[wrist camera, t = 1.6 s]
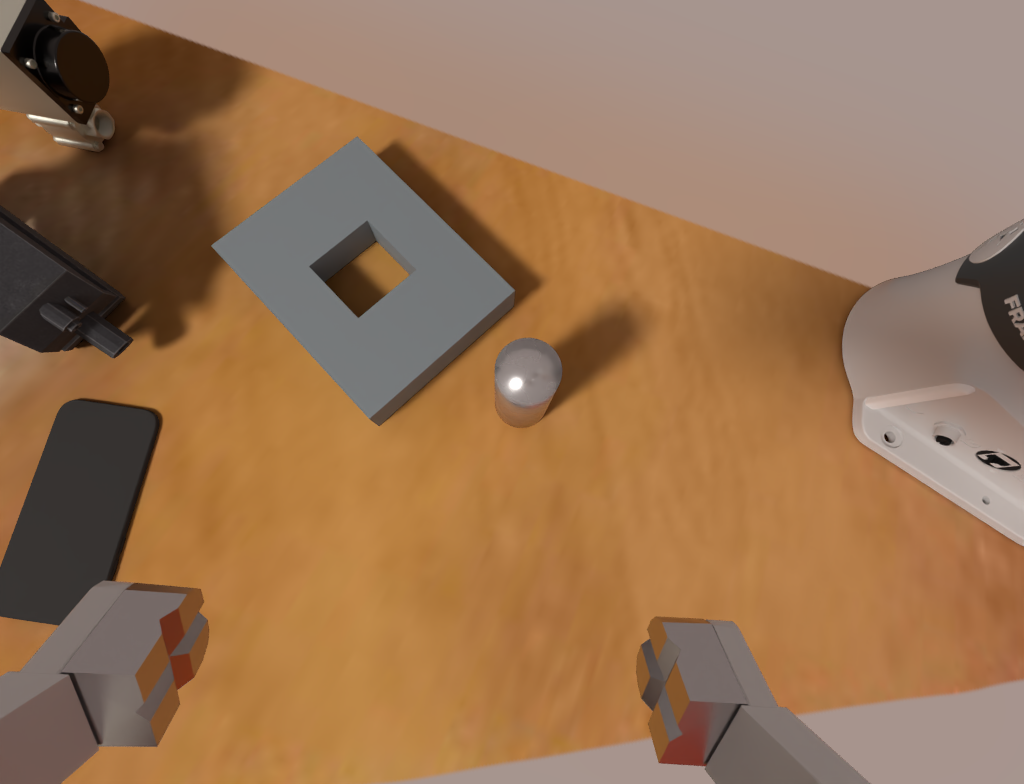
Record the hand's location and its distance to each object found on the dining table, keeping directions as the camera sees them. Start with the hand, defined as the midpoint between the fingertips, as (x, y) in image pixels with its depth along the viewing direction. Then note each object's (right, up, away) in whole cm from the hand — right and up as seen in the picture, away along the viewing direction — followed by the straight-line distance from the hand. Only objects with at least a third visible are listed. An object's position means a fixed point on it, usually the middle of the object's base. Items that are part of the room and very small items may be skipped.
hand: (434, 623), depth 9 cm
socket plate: (-10, +13, +31) cm, 35 cm away
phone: (-29, -4, +27) cm, 40 cm away
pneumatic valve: (-34, +26, +34) cm, 55 cm away
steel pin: (+2, +3, +30) cm, 30 cm away
